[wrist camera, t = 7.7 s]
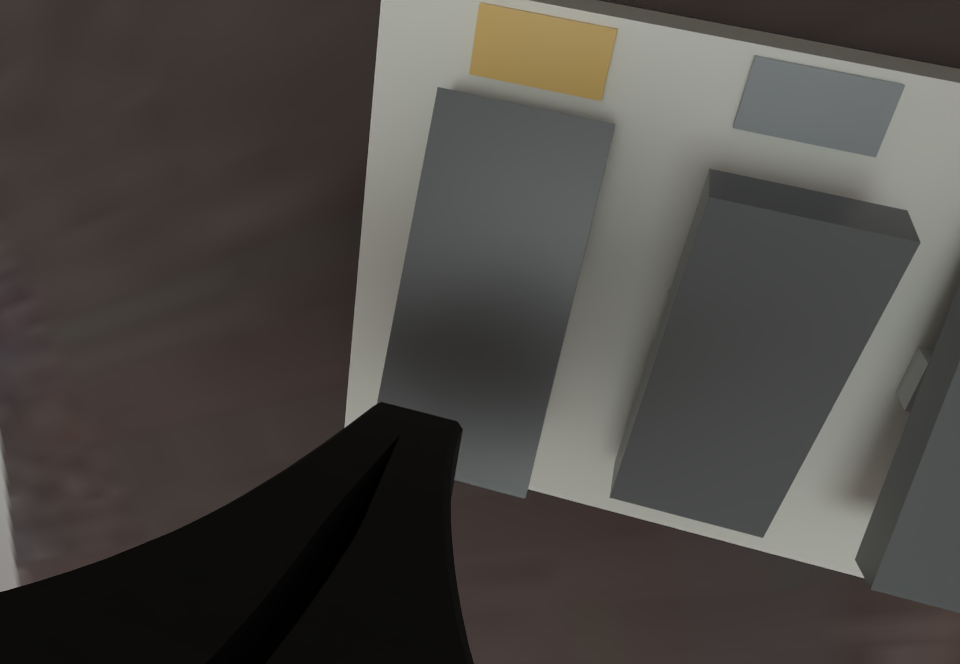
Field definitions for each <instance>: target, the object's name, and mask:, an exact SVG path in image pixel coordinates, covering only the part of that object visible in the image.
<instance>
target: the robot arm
mask: <svg viewBox="0 0 960 664" xmlns="http://www.w3.org/2000/svg"><path fill="white" fill-rule="evenodd" d="M462 432H463V429H462V427H461V426H460V424H459V423H458V422H457V421H455V420H451V419H447V418H443V417H439V416H435V415H431V414H428V413H424V412H420V411H416V410H412V409H408V408H404V407H400V406H396V405H392V404H388V403H384V402H380V403H378V404H376V405H374V406H373V407H371V408H370V409H369V410H367V411H366V412H365V413H363V414H362V415H361V416H359V417H358V418H357V419H356V420H354V421H353V422H352V423H350V424H349V425H348V426H346V427H345V428H344V429H342V430H341V431H340V432H338V433H337V434H336V435H334V436H333V437H331V438H330V439H329V440H327V441H326V442H325V443H323V444H322V445H320V446H319V447H317V448H316V449H315V450H313V451H312V452H310V453H309V454H307V455H306V456H304V457H303V458H301V459H300V460H298V461H297V462H296V463H294V464H293V465H291V466H290V467H288V468H287V469H285V470H284V471H282V472H280V473H279V474H277V475H276V476H274V477H272V478H271V479H269V480H267V481H266V482H264V483H262V484H261V485H259V486H258V487H256V488H254V489H253V490H251V491H249V492H248V493H246V494H244V495H243V496H241V497H239V498H238V499H236V500H234V501H232V502H230V503H229V504H227V505H225V506H223V507H221V508H219V509H218V510H216V511H214V512H212V513H210V514H208V515H206V516H204V517H202V518H200V519H198V520H196V521H194V522H192V523H190V524H188V525H186V526H184V527H182V528H180V529H177V530H175V531H173V532H171V533H168V534H166V535H164V536H161V537H159V538H156V539H154V540H151V541H149V542H146V543H144V544H141V545H139V546H137V547H134V548H132V549H129V550H127V551H124V552H122V553H119V554H117V555H114V556H112V557H109V558H107V559H104V560H101V561H98V562H96V563H93V564H90V565H87V566H84V567H81V568H78V569H75V570H72V571H69V572H66V573H63V574H60V575H57V576H54V577H50V578H47V579H44V580H41V581H38V582H34V583H31V584H28V585H24V586H21V587H17V588H14V589H11V590H7V591H3V592H0V664H474V663H473V659H472V655H471V652H470V648H469V644H468V640H467V635H466V631H465V626H464V621H463V616H462V611H461V606H460V600H459V594H458V588H457V581H456V574H455V566H454V557H453V546H452V533H451V495H452V490H453V484H454V478H455V472H456V466H457V461H458V455H459V449H460V443H461V438H462Z"/></svg>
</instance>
